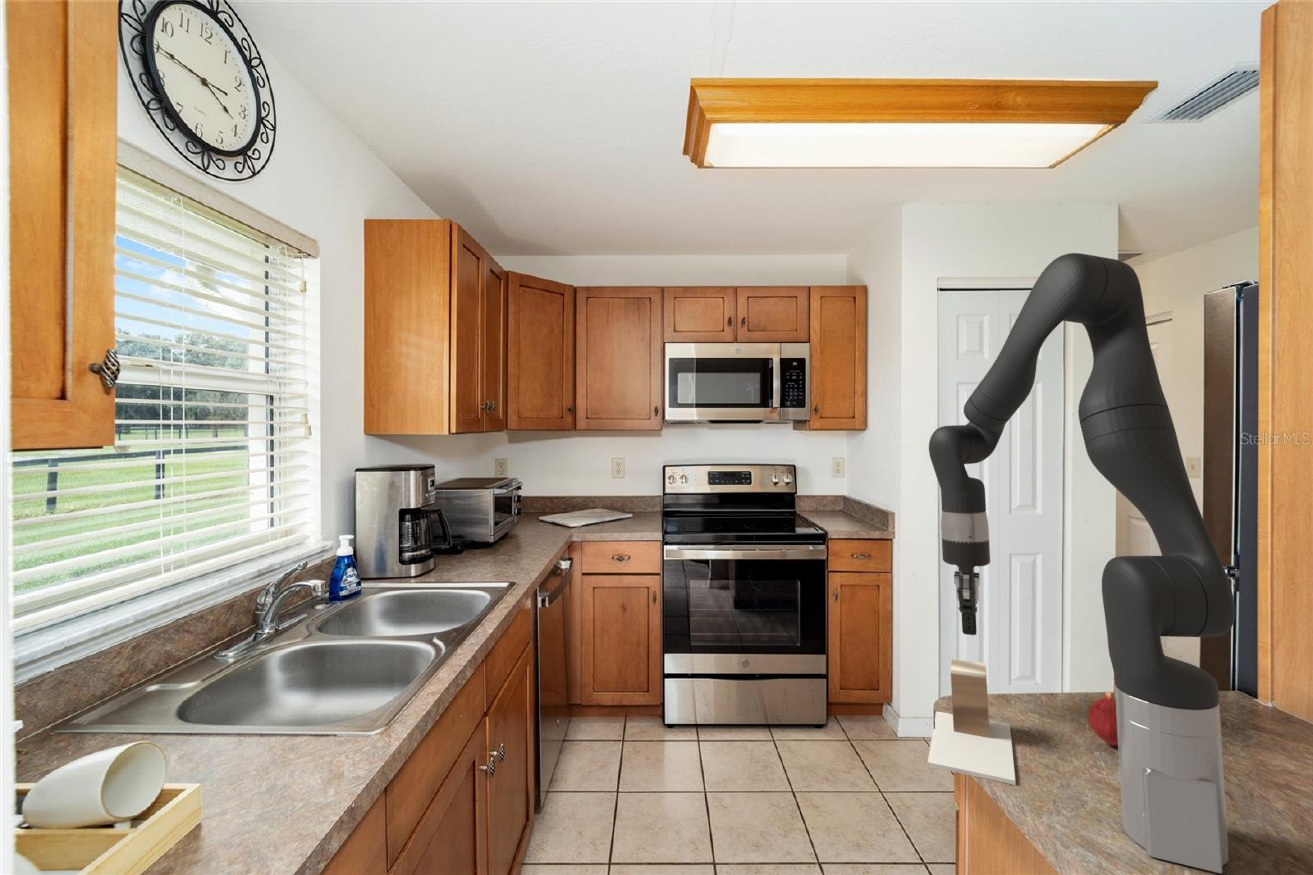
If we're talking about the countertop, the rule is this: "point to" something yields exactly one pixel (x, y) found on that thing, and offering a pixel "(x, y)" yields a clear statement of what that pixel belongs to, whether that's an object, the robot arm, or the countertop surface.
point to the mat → (972, 750)
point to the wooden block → (969, 698)
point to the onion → (1104, 719)
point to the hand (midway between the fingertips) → (969, 633)
